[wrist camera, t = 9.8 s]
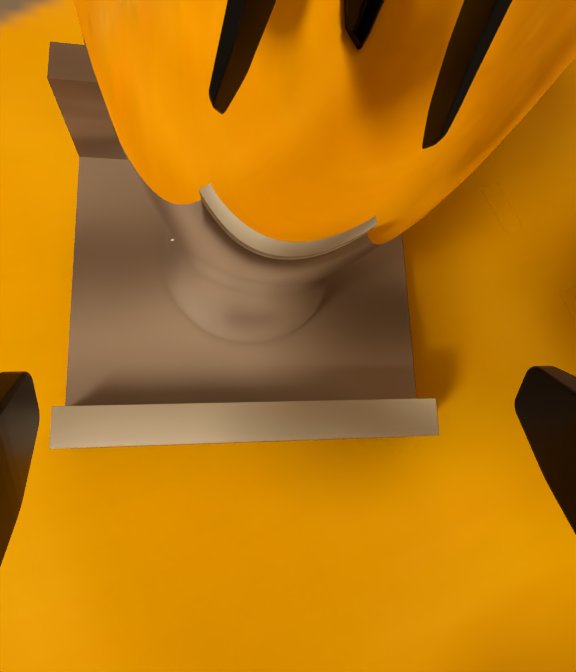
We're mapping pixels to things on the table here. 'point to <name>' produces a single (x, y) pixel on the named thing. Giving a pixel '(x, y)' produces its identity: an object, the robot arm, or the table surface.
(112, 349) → the grey bracket
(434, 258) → the table surface
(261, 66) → the beer glass
